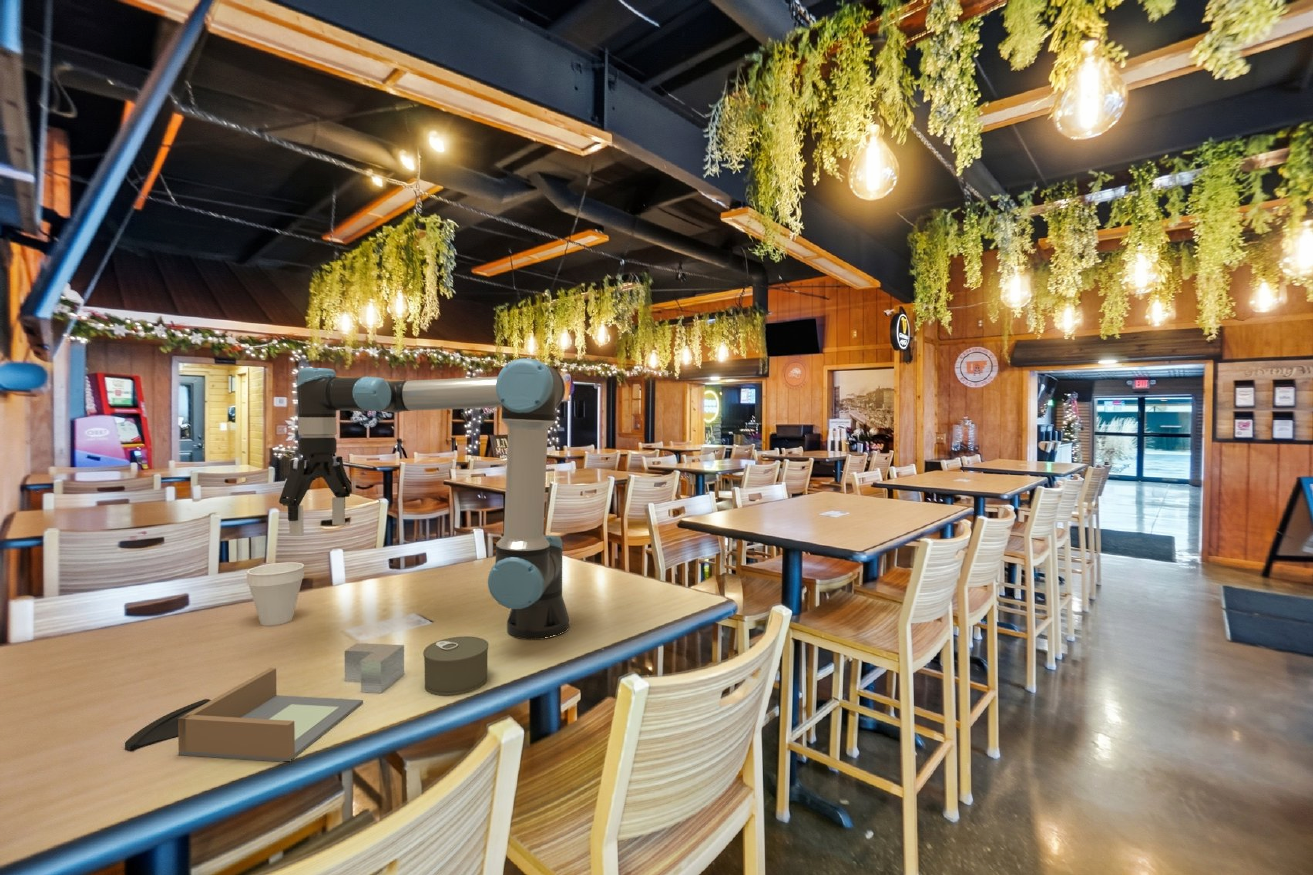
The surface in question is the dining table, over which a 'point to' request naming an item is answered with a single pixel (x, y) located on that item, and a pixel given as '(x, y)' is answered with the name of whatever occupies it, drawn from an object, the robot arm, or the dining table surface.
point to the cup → (275, 591)
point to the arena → (259, 722)
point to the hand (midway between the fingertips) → (318, 530)
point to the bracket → (374, 665)
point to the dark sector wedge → (160, 728)
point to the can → (455, 665)
